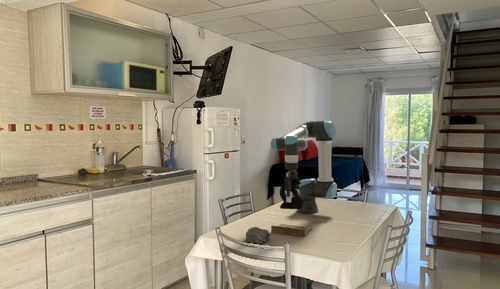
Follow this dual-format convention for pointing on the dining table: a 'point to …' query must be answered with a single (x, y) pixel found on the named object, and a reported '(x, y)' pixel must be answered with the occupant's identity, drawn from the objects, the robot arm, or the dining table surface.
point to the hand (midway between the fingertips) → (291, 200)
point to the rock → (257, 235)
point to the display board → (291, 230)
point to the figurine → (295, 201)
